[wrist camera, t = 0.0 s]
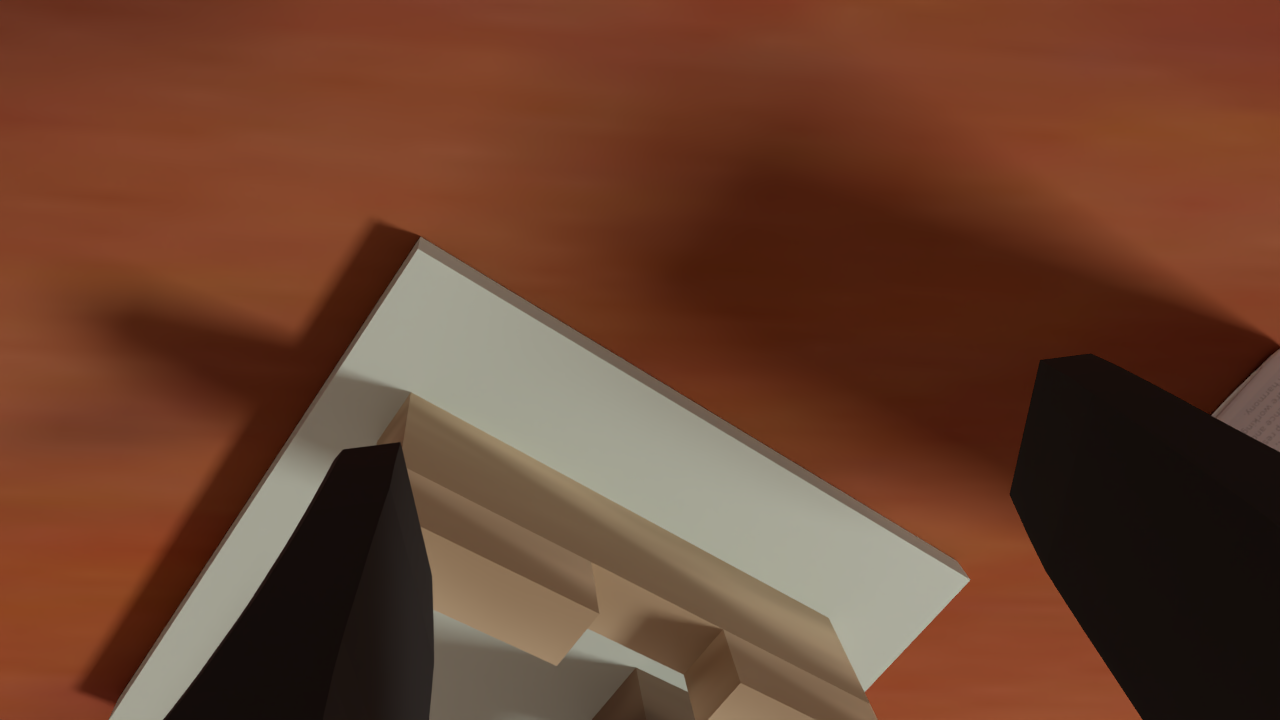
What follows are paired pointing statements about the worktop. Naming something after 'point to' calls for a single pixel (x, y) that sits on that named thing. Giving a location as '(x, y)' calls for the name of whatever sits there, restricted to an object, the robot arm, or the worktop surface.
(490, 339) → the board
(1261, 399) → the syrup box
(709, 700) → the wooden u-shaped block
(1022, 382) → the worktop surface
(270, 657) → the robot arm
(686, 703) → the wooden c-clamp shape
